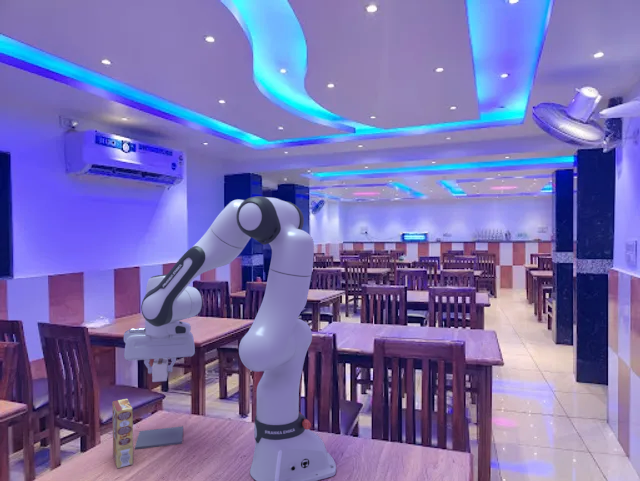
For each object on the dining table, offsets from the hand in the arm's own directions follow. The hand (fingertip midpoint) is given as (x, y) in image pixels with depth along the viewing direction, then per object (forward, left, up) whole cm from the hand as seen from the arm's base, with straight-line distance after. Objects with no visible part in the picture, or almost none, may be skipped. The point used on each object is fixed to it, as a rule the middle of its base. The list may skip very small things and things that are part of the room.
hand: (160, 372), depth 131 cm
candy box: (+9, +11, -20) cm, 25 cm away
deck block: (0, 0, -2) cm, 2 cm away
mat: (0, 0, -20) cm, 20 cm away
